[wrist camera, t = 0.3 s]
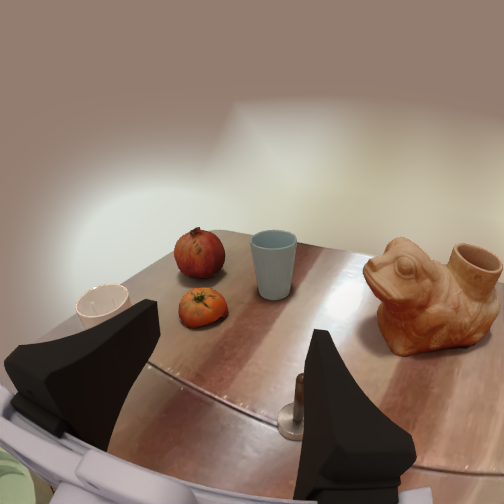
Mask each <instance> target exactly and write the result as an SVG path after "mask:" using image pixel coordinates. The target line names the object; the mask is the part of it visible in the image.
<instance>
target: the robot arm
mask: <svg viewBox="0 0 504 504" xmlns="http://www.w3.org/2000/svg"><path fill="white" fill-rule="evenodd" d="M160 335H161V334H160V326H159V317H158V308H157V301H153V300H148V299H144V300H142V301H140V302H139V303H137V304H135V305H133V306H131V307H130V308H128V309H126V310H125V311H123V312H121V313H119V314H117V315H116V316H114V317H112V318H110V319H108V320H106V321H104V322H102V323H100V324H98V325H96V326H94V327H92V328H90V329H87V330H85V331H82V332H80V333H77V334H74V335H71V336H68V337H64V338H61V339H58V340H53V341H49V342H43V343H37V344H28V345H19V346H18V347H17V348H16V349H15V350H14V351H13V352H12V353H11V354H10V355H9V356H8V357H7V358H6V359H5V361H4V366H5V370H6V372H7V374H8V375H9V377H10V379H11V381H12V382H13V384H14V386H15V387H16V389H17V391H18V393H17V394H16V395H14V394H13V393H12V392H11V391H10V390H9V389H7V388H6V387H4V386H3V385H2V384H0V446H1V447H2V448H3V449H4V450H5V451H6V452H8V453H9V454H10V455H11V456H12V457H14V458H15V459H16V460H17V461H19V462H20V463H21V464H22V465H24V466H25V467H26V468H28V469H29V470H30V471H32V472H33V473H34V474H36V475H37V476H38V477H40V478H41V479H42V480H44V481H45V482H47V483H48V484H50V485H51V486H53V487H54V488H56V489H57V490H56V492H55V494H54V495H53V497H52V499H51V501H50V503H49V504H433V499H432V492H431V487H423V488H417V489H410V490H405V491H402V492H399V493H398V487H397V486H400V484H401V480H400V476H401V475H402V474H403V473H404V472H405V471H407V470H408V469H409V468H410V467H411V466H412V465H413V463H414V462H415V461H416V458H417V456H416V451H415V446H414V442H413V439H412V436H411V435H410V434H409V433H407V432H406V431H405V430H403V429H402V428H400V427H399V426H398V425H396V424H395V423H394V422H393V421H391V420H390V419H389V418H388V417H387V416H386V415H384V414H383V413H382V412H381V411H380V410H379V409H378V408H377V407H376V406H375V405H374V404H373V403H372V402H371V401H370V399H369V398H368V397H367V396H366V395H365V394H364V392H363V391H362V390H361V388H360V387H359V386H358V384H357V383H356V381H355V380H354V378H353V377H352V375H351V374H350V372H349V371H348V369H347V367H346V366H345V364H344V362H343V360H342V358H341V357H340V355H339V353H338V351H337V349H336V347H335V345H334V342H333V340H332V338H331V336H330V333H329V332H328V331H326V330H318V329H314V331H313V335H312V339H311V342H310V346H309V350H308V353H307V357H306V360H305V367H304V378H303V399H304V430H303V439H302V448H301V455H300V462H299V469H298V475H297V481H296V486H295V491H294V496H293V500H289V499H278V498H269V497H261V496H254V495H248V494H242V493H236V492H231V491H225V490H221V489H216V488H211V487H207V486H203V485H199V484H195V483H191V482H187V481H184V480H180V479H177V478H174V477H170V476H167V475H164V474H161V473H158V472H155V471H152V470H149V469H146V468H143V467H141V466H138V465H135V464H133V463H130V462H128V461H125V460H123V459H120V458H118V457H116V456H113V455H111V454H109V453H106V452H107V448H108V445H109V441H110V438H111V435H112V432H113V429H114V426H115V424H116V421H117V418H118V416H119V413H120V411H121V408H122V406H123V404H124V401H125V399H126V397H127V395H128V393H129V391H130V389H131V387H132V385H133V383H134V382H135V380H136V379H137V377H138V375H139V374H140V372H141V371H142V369H143V368H144V366H145V364H146V363H147V361H148V359H149V358H150V356H151V355H152V353H153V351H154V349H155V347H156V345H157V342H158V340H159V337H160Z"/></svg>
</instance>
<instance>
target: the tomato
mask: <svg viewBox="0 0 504 504" xmlns="http://www.w3.org/2000/svg"><path fill="white" fill-rule="evenodd" d="M228 313H229V312H228V307H227V304H226V301H225V299H224V298H223V296H222V295H221V294H220V293H218V292H217V291H215V290H213V289H211V288H194V289H192V290H190V291H189V292H187V293H186V294H185V295H184V296H183V298H182V299H181V302H180V304H179V317H180V319H181V320H182V322H183V323H184V324H185V326H187V327H188V328H189V327H190V328H196V327H199V326H201V325H206V324H211V322H212V323H213V322H214V321H215V320H217V319H219V317H222V316H224V319H225V318H226V316H227V314H228ZM224 319H223V320H224Z"/></svg>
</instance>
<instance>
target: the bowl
mask: <svg viewBox="0 0 504 504" xmlns="http://www.w3.org/2000/svg"><path fill="white" fill-rule="evenodd" d="M53 495H54V494H53V492H52V490H51V488H50V486H49V484H48V483H47V482H45V481H44V480H42V479H41V478H40V477H38V476H37V475H36V474H34V473H33V472H32V471H30V470H29V469H28V468H26V467H25V466H24V465H22V464H21V463H20V462H19V461H17V460H16V459H15V458H14V457H12V456H11V455H10V454H9V453H8V452H6V451H5V450H4V449H3V448H2V447H0V504H49V503H50V501H51V499H52V497H53Z"/></svg>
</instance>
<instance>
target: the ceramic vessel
mask: <svg viewBox="0 0 504 504" xmlns="http://www.w3.org/2000/svg"><path fill="white" fill-rule="evenodd" d="M502 270H503V264H502V262H501V260H500V259H499V258H498V257H497V256H496V255H495V254H493V253H492V252H490V251H488V250H486V249H483V248H480V247H477V246H473V245H469V244H465V243H460V244H456V245H455V246H454V248H453V250H452V254H451V256H450V260H449V262H448V264H447V265H443V264H441V263H440V262H438V261H434V260H431V259H430V257H429V256H428V255H427V254H426V253H425V252H424V251H423V250H422V249H421V248H420V247H419V246H418V245H416V244H415V243H414V242H412V241H411V240H409V239H406V238H404V237H400V238H395V239H394V240H392V241H391V242H390V243H389V244H388V245H387V247H386V249H385V252H384V254H383V255H382V256H378V257H374V258H372V259H369V261H368V262H367V263H366V264H365V265H364V268H363V275H364V277H365V280H366V282H367V284H368V286H369V287H370V289H371V290H372V292H373V293H374V295H375V296H376V297H377V298H378V299H379V300H381V301H382V303H381V304H380V306H379V308H378V311H377V317H378V325H379V328H380V331H381V333H382V335H383V337H384V339H385V341H386V343H387V345H388V346H389V348H390V350H391V351H392V352H393V353H394V354H395V355H398V356H409V355H412V354H416V353H422V352H431V351H436V350H442V349H452V348H468V347H470V346H473V345H475V343H476V342H477V341H479V340H480V339H481V338H483V337H484V336H485V335H486V333H487V332H488V330H489V329H490V327H491V325H492V323H493V322H494V320H495V319H496V317H497V316H498V313H499V310H500V304H499V300H498V297H497V292H496V289H495V287H494V286H495V284H496V283H497V281H498V279H499V277H500V275H501V272H502Z"/></svg>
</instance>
